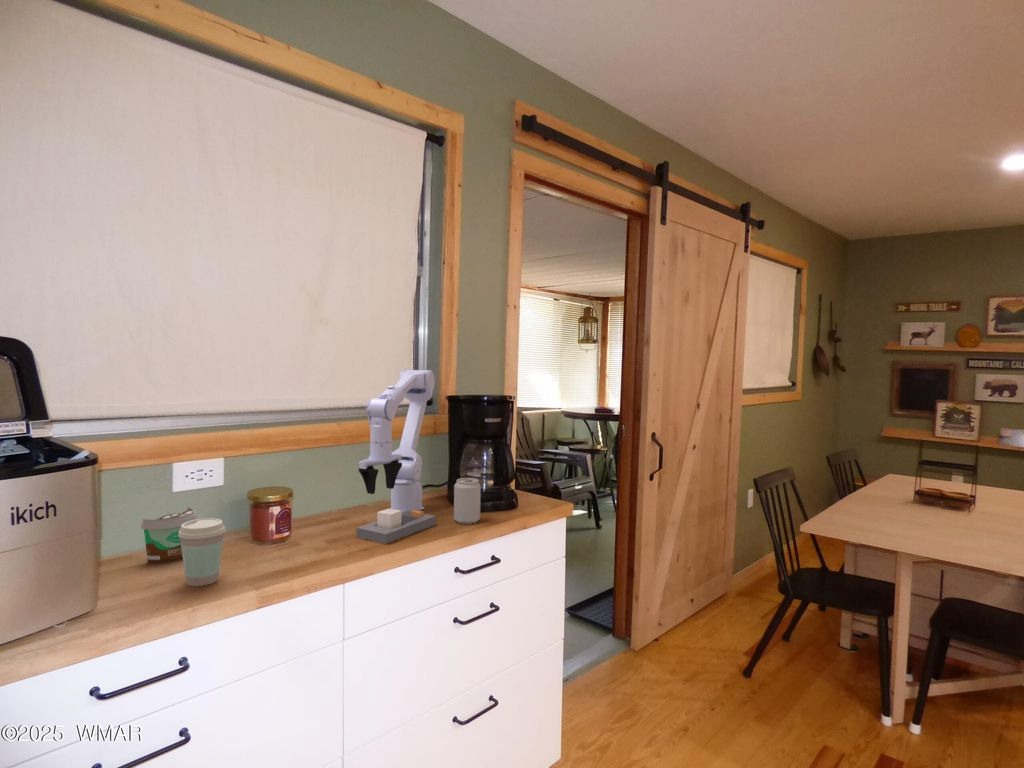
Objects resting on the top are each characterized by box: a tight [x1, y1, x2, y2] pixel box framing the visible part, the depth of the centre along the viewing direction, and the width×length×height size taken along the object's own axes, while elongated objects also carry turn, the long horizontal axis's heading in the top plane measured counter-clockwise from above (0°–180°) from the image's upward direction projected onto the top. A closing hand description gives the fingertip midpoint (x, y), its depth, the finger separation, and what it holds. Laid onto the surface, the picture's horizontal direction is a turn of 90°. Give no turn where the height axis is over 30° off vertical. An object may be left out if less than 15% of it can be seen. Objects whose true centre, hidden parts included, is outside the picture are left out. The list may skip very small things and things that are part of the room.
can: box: [453, 477, 482, 525], centre depth 166 cm, size 8×8×12 cm
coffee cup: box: [178, 517, 226, 587], centre depth 119 cm, size 8×8×12 cm
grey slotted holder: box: [356, 510, 437, 545], centre depth 156 cm, size 20×10×4 cm, turn 150°
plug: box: [376, 508, 401, 529], centre depth 153 cm, size 4×4×6 cm
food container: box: [140, 506, 198, 564], centre depth 133 cm, size 12×6×10 cm, turn 160°
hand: (380, 490), depth 161 cm, fingers open, 7 cm apart
